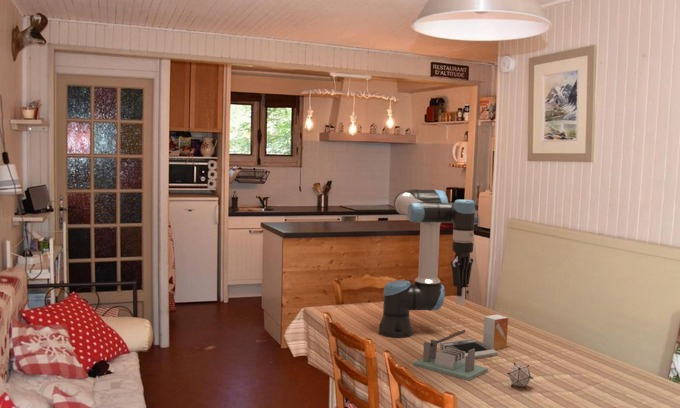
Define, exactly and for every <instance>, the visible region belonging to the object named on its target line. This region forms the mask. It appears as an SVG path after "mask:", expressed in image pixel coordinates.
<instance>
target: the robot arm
mask: <svg viewBox="0 0 680 408" xmlns="http://www.w3.org/2000/svg"><path fill="white" fill-rule="evenodd" d="M475 206H476V204H475V201H474V200H472V199H456V200H454V202H449V199H448V196H447V194H446V192H445V191H444V190H441V189H415V188H414V189H413V188H410V189H406V190H402V191H400V192H399V193H398V194H397V195H395V197H394V200H393V207H394V209H395V211H396V212H397V213H398V214H400V215H401V216H407V218H408V221H409V222H411V223H420V230H419V251H418V252H419V253H418V273H417V274H418V276H417V277H416V278H414V283H411V281H409V280H406V279H405V280H402V279H399V280H398V279H397V280H392V281H389V282H387V283H385V285H384V286H383V287H384V288H383V304H382V305H383V311H382V317H381V321H380V323H379V326H378V334H379V335H381V336H385V337H390V338H399V339H400V338H408V337H411V336H412V335H413V331H414V329H413V327H412V326H413V325H412V322H411V319H410V311H429V312H431V311H438V310H440V309H441V308H442V306H443V304H444V301H445V295H446V292H445V286H444V285H443V284H442V283H441V280H440V278H439V277H438V276H439V275H438V273H439V253H440V252H439V251H440V250H439V249H440V231H441V230H440V229H441V224H442V223H443V224H445V223H447V224H448V223H449V224H452V225H453V227H452V252H454V253H455V254H454V260H453V261H452V260H451V261H450V265H451V271H452V283H453V287H455V288H456V302H455V303H456V305H460V306H465V303H466V288H468V287H469V284H470V281H471V280H470V279H471V273H472V267H473V263H474V259H473V258H471V254H472V253H474V243H473V241H474V236H475V233H474V230H475V229H474V228H475V212H476V207H475Z"/></svg>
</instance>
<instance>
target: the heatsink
mask: <svg viewBox="0 0 680 408" xmlns="http://www.w3.org/2000/svg"><path fill="white" fill-rule="evenodd" d="M464 365H465V352H464V351H460V350H456V349H452V348H448V347H447V348H446V349H443V350H440V349H439V351H438V350H437V351H436V358H435V366H439V367H442V368H446V369H450V370H455V369H458V368H460V367H462V366H464Z"/></svg>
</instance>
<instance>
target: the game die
mask: <svg viewBox="0 0 680 408" xmlns="http://www.w3.org/2000/svg"><path fill="white" fill-rule="evenodd" d="M529 367H530V364H527V366H526V365H521V364H520V365H519V364H516V362H513V367H512V368H511V370H510V371H509V372H506V375H508V376H509V379H510V381H511V385H510V387H512V388H513V386H516V387H520V388H521V387H523V388H524V389H525V390H527V386H528V384H529V382H530V381H531V379H532V380H533V379H534V377H532V376H531V372H530V370H529Z"/></svg>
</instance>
